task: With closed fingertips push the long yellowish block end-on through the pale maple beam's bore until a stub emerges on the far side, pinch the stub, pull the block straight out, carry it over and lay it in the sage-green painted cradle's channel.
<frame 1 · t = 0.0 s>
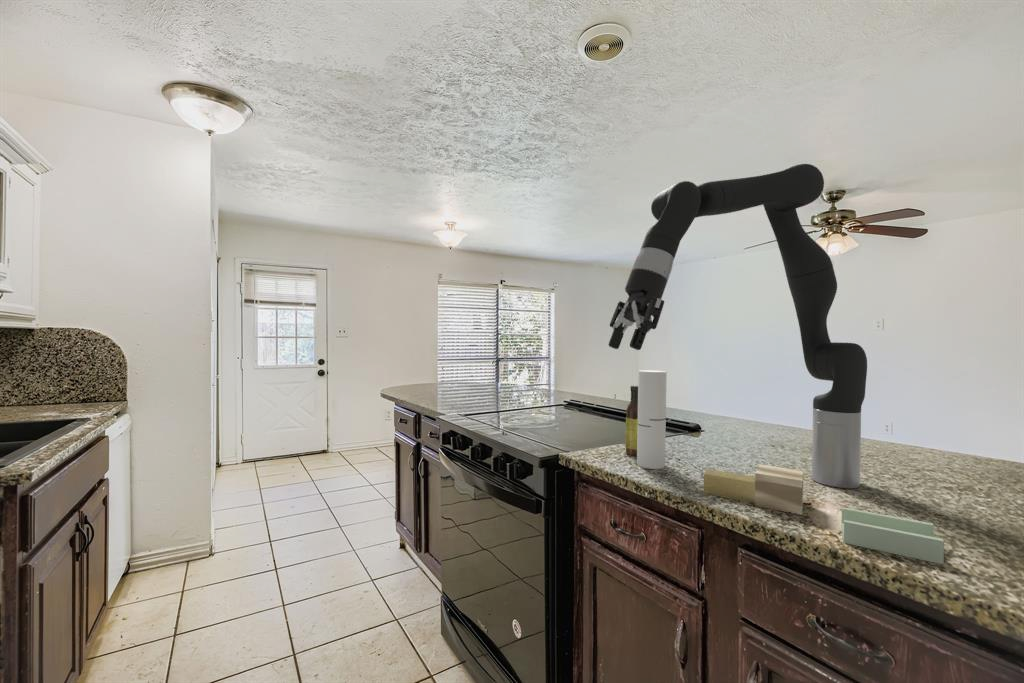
hand: (623, 348, 90), 31 cm above the worktop, tool tilted 20°, fingers open, 8 cm apart
cradle: (887, 543, 73), on the worktop
sauce bottle: (636, 454, 129), on the worktop
long yellowish block: (751, 489, 93), point 2 cm above the worktop
cylindrical container: (650, 465, 118), on the worktop
beam: (779, 504, 90), on the worktop
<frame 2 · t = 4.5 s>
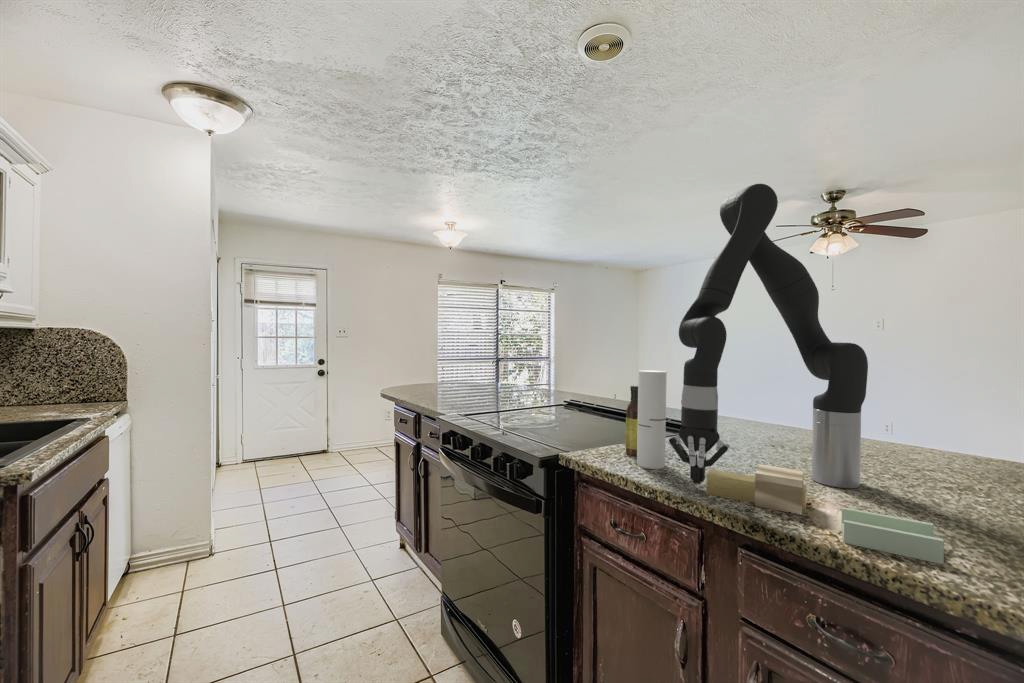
hand: (697, 482, 99), 1 cm above the worktop, tool pointing down, fingers closed
nothing on the worktop moved.
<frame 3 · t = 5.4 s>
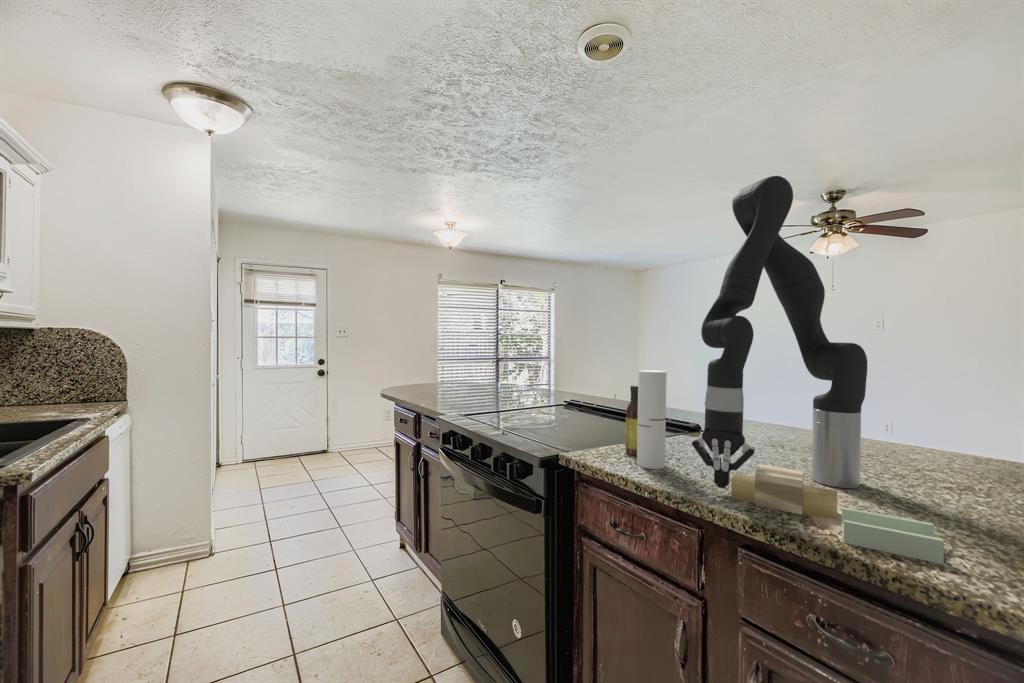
hand: (721, 486, 96), 1 cm above the worktop, tool pointing down, fingers closed
long yellowish block: (782, 495, 90), point 2 cm above the worktop, touching gripper
everything else where it was.
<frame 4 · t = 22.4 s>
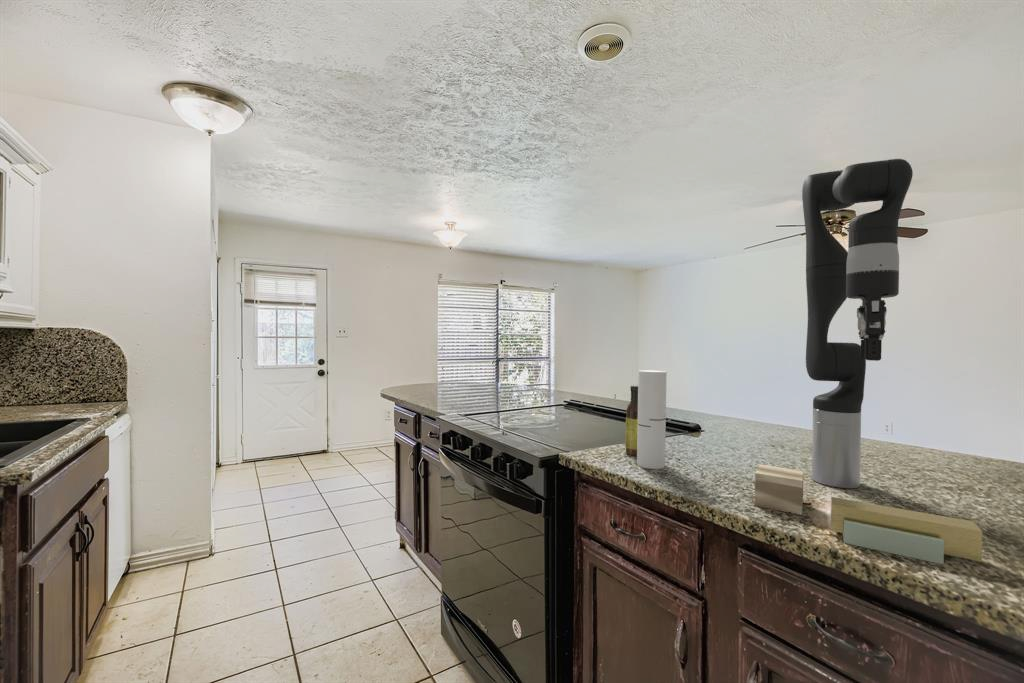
hand: (870, 359, 81), 30 cm above the worktop, tool pointing down, fingers open, 8 cm apart
long yellowish block: (899, 526, 72), point 3 cm above the worktop, touching cradle
everything else where it was.
at the end: long yellowish block inside the target area on the cradle (1.4 cm from its centre), point 3.2 cm above the cradle's base; long yellowish block touching cradle; the gripper is holding nothing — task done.
